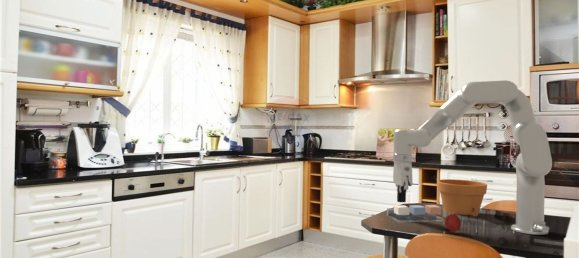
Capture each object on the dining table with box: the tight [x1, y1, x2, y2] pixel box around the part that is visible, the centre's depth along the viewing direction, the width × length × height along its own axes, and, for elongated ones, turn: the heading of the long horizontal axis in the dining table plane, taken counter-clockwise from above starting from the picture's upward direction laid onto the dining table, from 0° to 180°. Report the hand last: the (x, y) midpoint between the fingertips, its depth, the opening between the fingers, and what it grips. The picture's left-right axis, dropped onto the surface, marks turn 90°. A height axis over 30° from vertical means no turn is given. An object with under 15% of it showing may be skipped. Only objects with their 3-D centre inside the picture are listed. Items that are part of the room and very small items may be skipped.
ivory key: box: [393, 205, 410, 215], centre depth 180 cm, size 5×5×3 cm
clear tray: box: [386, 207, 446, 223], centre depth 181 cm, size 13×22×4 cm, turn 98°
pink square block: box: [424, 204, 442, 215], centre depth 182 cm, size 5×5×3 cm
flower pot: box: [437, 178, 488, 218], centre depth 197 cm, size 21×21×15 cm
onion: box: [444, 212, 462, 234], centre depth 162 cm, size 6×6×8 cm
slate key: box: [409, 204, 425, 215], centre depth 181 cm, size 5×5×3 cm
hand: (401, 201), depth 180 cm, fingers closed
